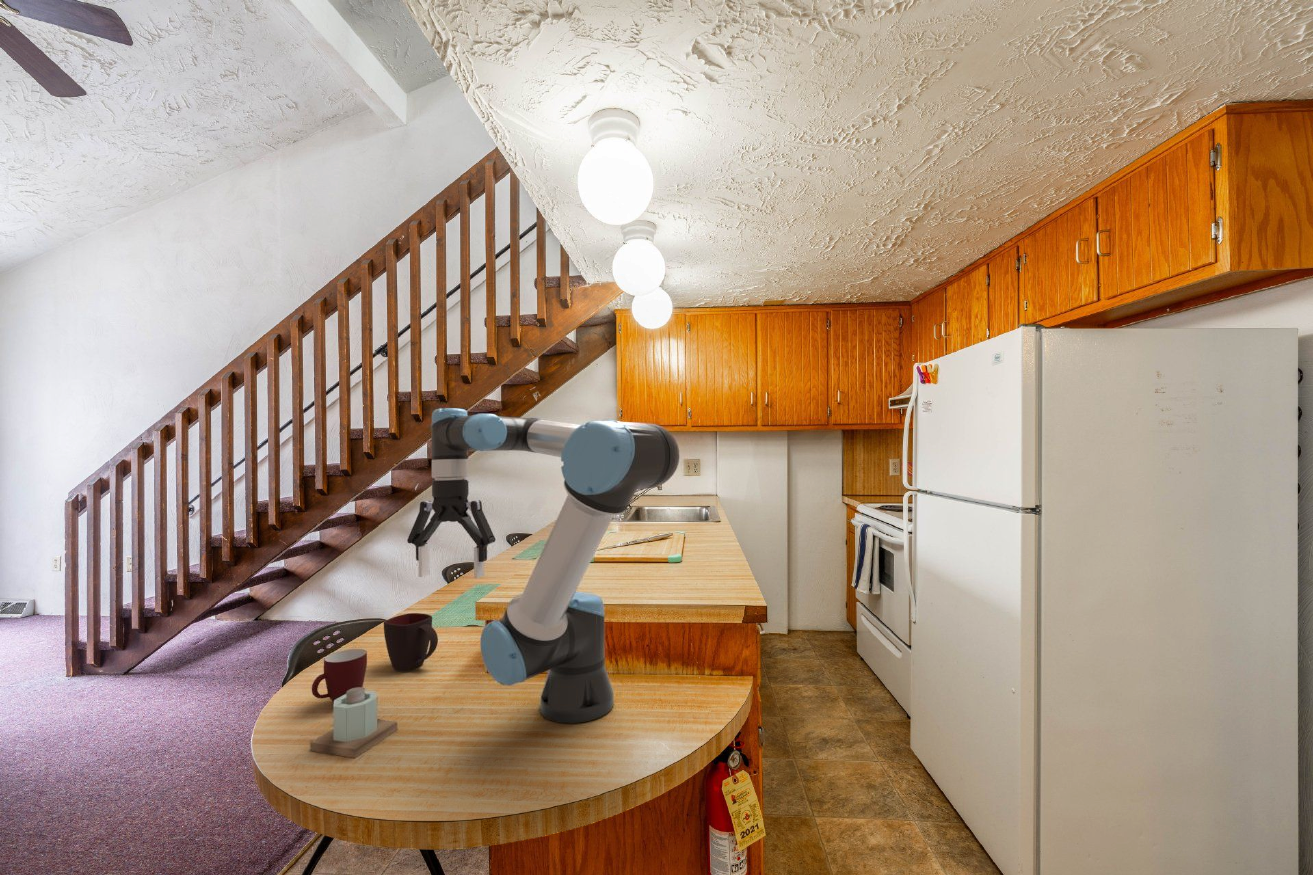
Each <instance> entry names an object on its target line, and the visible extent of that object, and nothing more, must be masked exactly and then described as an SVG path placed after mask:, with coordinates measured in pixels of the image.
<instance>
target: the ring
mask: <svg viewBox="0 0 1313 875" xmlns="http://www.w3.org/2000/svg"><path fill="white" fill-rule="evenodd" d="M377 693H378V692H377V691H375V690H367V689H365V701H363V702H361V703H356V704H351V705H347V704H346V694H345V695H343V696H341V697H339V698H337V699H336V700H334V703H333V722H332V723H333V724H332V726H333V728H332V729H333V740H335V741H342V742H349V741H353V740H358V739H362V738H365V737H367V736H368V735H370V734H371V733H373V732H375V731H376V730H377V719H378V694H377Z"/></svg>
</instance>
